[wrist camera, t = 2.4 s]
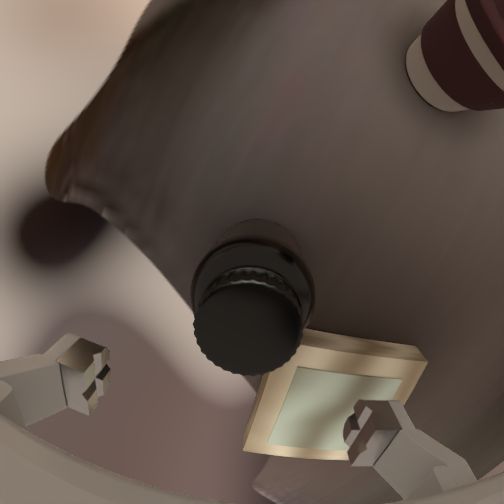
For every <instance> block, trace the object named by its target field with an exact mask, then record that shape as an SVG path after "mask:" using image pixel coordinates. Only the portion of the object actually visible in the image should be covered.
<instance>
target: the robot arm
mask: <svg viewBox="0 0 504 504" xmlns="http://www.w3.org/2000/svg"><path fill="white" fill-rule="evenodd" d="M109 359H110V350H109V349H108V348H107V347H104V346H102V345H99V344H96V343H94V342H92V341H89V340H87V339H84V338H81V337H79V336H76V335H74V334H71V333H67V334H65V336H63V337H62V338H61V339H60V340H59V341H58V342H57V343H55V344H54V345H53V346H52V347H51V348H50V349H49V350H48V351H47V352H45V353H44V354H43V355H41V354H35V355H30V356H26V357H20V358H15V359H11V360H5V361H0V504H235V503H228V502H222V501H216V500H210V499H205V498H200V497H195V496H191V495H186V494H182V493H178V492H174V491H170V490H166V489H162V488H159V487H155V486H152V485H149V484H145V483H142V482H139V481H136V480H133V479H130V478H127V477H124V476H122V475H119V474H116V473H113V472H111V471H108V470H106V469H103V468H101V467H98V466H96V465H93V464H91V463H89V462H86V461H84V460H82V459H80V458H78V457H75V456H73V455H71V454H69V453H67V452H65V451H63V450H61V449H59V448H57V447H55V446H53V445H51V444H49V443H48V442H46V441H44V440H42V439H40V438H38V437H37V436H35V435H33V434H31V433H30V432H28V431H27V429H26V426H28V425H30V424H32V423H34V422H37V421H39V420H41V419H44V418H46V417H48V416H50V415H52V414H55V413H57V412H59V411H61V410H63V409H66V408H67V407H69V408H72V409H74V410H76V411H79V412H81V413H84V414H87V415H89V416H90V415H91V413H92V412H93V410H94V408H95V407H96V406H97V404H98V399H97V397H99V396H102V395H104V393H105V392H106V390H107V388H108V385H109V382H110V374H111V373H110V368H109V367H108V365H107V362H108V361H109ZM353 409H354V412H355V413H353V414H352V415H350V416H349V417H348V418H347V420H346V422H345V424H344V428H343V439H344V443H346V444H347V445H348V446H349V447H350V448H349V449H348V451H347V454H348V458H349V461H350V465H351V466H373V468H374V469H375V470H376V471H377V472H378V473H379V474H380V475H381V476H382V477H383V478H384V479H385V480H386V481H387V482H388V483H389V484H390V485H391V486H392V487H393V489H394V490H395V491H396V492H397V493H398V494H399V495H400V496H401V497H402V498H403V500H402V501H398V502H392V503H385V504H504V472H502V473H499V474H497V475H494V476H492V477H489V478H486V479H483V480H481V481H477V480H476V478H475V476H474V474H473V472H472V471H471V469H470V467H469V465H468V464H467V462H466V460H465V459H463V458H462V457H460V456H459V455H457V454H456V453H454V452H452V451H451V450H449V449H448V448H446V447H445V446H443V445H442V444H440V443H439V442H437V441H436V440H434V439H433V438H431V437H430V436H428V435H427V434H425V433H424V432H422V431H421V430H419V429H418V430H416V429H415V427H414V425H413V424H412V422H411V420H410V418H409V416H408V414H407V413H406V411H405V409H404V407H403V405H402V403H401V402H400V401H398V400H366V399H359V400H358V401H357V402H356V404H355V405H354V407H353Z"/></svg>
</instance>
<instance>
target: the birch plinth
mask: <svg viewBox="0 0 504 504" xmlns="http://www.w3.org/2000/svg"><path fill="white" fill-rule="evenodd" d="M427 363H428V361H427V360H426V359H425V357H424V356H423V355H422V354H421V352H420V351H419V350H418V348H417V347H416V346H412V345H404V344H397V343H390V342H383V341H376V340H369V339H363V338H357V337H350V336H344V335H339V334H333V333H327V332H321V331H316V330H311V329H304V331H303V337H302V339H301V345H300V346H299V347H298V348H297V351H296V354H295V355H293V356H292V357H291V359H290V361H289V362H286V363H284V365H283V366H282V367H280V368H277V369H275V370H274V371H273V372H267V373H265V374H264V375H263V376H262V379H261V383H260V386H259V389H258V392H257V395H256V398H255V401H254V404H253V407H252V411H251V413H250V417H249V419H248V422H247V425H246V429H245V432H244V443H243V451H249V452H255V453H262V454H269V455H277V456H286V457H297V458H310V459H328V460H349V458H348V454H347V451H348V449H349V448H350V447H349V446H348V445H347V444H346V443H344V439H343V428H344V424H345V422H346V420H347V418H348V417H349V416H350V415H352V414H353V413H355V412H354V409H353V407H354V405H355V404H356V402H357V401H358V400H359V399H366V400H398V401H400V402H401V403H402V405H403V406H404V404H405V403H406V401H407V399H408V397H409V396H410V394H411V392H412V391H413V389H414V387H415V385H416V384H417V382H418V380H419V378H420V376H421V374H422V372H423V371H424V369H425V367H426V365H427Z"/></svg>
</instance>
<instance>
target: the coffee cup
mask: <svg viewBox="0 0 504 504" xmlns="http://www.w3.org/2000/svg"><path fill="white" fill-rule="evenodd" d="M406 67H407V72H408V75H409V78H410V80H411V82H412V84H413V86H414V87H415V89H416V90H417V91H418V93H419V94H420V95H421V96H422V97H423V98H424V99H425V100H426V101H427V102H428V103H430V104H431V105H432V106H434V107H436V108H438V109H440V110H443V111H447V112H456V111H463V110H470V109H471V110H476V111H482V110H491V109H501V108H504V0H447V1H446V2H445V3H444V5H443V6H442V7H441V8H440V9H439V10H438V11H437V12H436V13H435V15H434V16H433V17H432V18H431V19H430V20H429V21H428V22H427V24H426V25H425V26H424V28H423V30H422V33H421V34H420V35H419V36H418V38H417V39H416V40H415V41H414V42H413V43H412V44H411V45H410V47H409V49H408V51H407V55H406Z"/></svg>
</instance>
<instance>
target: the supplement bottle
mask: <svg viewBox="0 0 504 504" xmlns="http://www.w3.org/2000/svg"><path fill="white" fill-rule="evenodd" d="M190 300H191V307H192V311H193V313H194V318H195V320H194V322H193V326H194V328H195V330H194V335H195V337H196V338H197V344H198V345H199V346H200V348H201V352H202V353H204V354H205V355H206V357H207V359H208V360H210V361H212V362H213V363H214V364H215V365H216V366H219V367H221V368H222V369H223V370H226V371H230V372H232V373H233V374H241V375H243V376H244V375H251V376H255V375H258V374H263V375H264V374H265V373H267V372H273V371H274V370H275V369H277V368H280V367H282V366H283V365H284V363H286V362H289V361H290V359H291V357H292V356H293V355H295V354H296V351H297V348H298V347H299V346H300V345H301V339H302V337H303V331H304V329H305V328H306V327H307V325H308V323H309V321H310V319H311V317H312V314H313V311H314V306H315V287H314V282H313V278H312V275H311V272H310V270H309V268H308V266H307V264H306V261H305V259H304V257H303V255H302V253H301V251H300V249H299V246H298V244H297V243H296V241H295V239H294V238H293V237H292V235H291V234H290V233H289V232H288V231H287V230H286V229H284V228H283V227H282V226H280V225H278V224H276V223H274V222H271V221H268V220H262V219H252V220H247V221H243V222H240V223H238V224H236V225H234V226H233V227H231V228H230V229H229V230H228V231H226V232H225V233H224V234H223V235H222V237H221V238H220V239H219V240H218V241H217V242H216V244H215V245H214V246H213V247H212V248H211V249H210V251H209V252H208V253H207V254H206V255H205V256H204V258H203V259H202V261H201V262H200V264H199V265H198V267H197V269H196V271H195V273H194V276H193V279H192V282H191V289H190Z"/></svg>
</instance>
